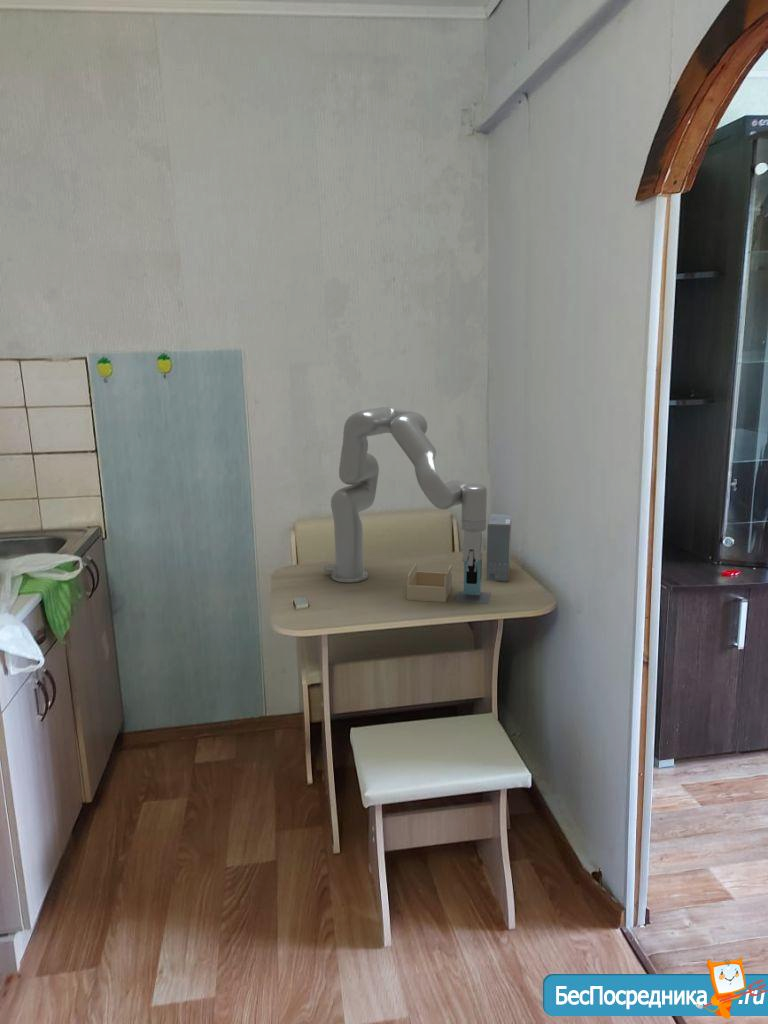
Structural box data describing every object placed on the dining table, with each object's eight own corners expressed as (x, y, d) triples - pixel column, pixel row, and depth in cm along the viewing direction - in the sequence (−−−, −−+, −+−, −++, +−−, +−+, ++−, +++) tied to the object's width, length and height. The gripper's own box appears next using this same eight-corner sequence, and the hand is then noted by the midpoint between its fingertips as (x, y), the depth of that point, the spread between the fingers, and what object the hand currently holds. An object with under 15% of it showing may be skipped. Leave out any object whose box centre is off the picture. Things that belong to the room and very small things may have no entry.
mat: (454, 603, 234) (455, 601, 234) (459, 592, 243) (459, 591, 243) (487, 605, 232) (487, 603, 232) (490, 594, 241) (490, 592, 241)
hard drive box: (508, 582, 253) (510, 524, 248) (485, 581, 254) (486, 524, 250) (510, 568, 268) (511, 514, 263) (488, 567, 269) (489, 513, 265)
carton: (406, 600, 237) (406, 576, 235) (415, 585, 251) (415, 562, 249) (445, 603, 234) (445, 578, 232) (452, 587, 248) (452, 564, 247)
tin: (463, 593, 235) (463, 556, 232) (465, 588, 240) (465, 551, 237) (479, 595, 234) (480, 557, 231) (481, 589, 239) (482, 552, 236)
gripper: (464, 517, 241) (463, 571, 245) (458, 530, 225) (457, 588, 229) (488, 518, 239) (487, 573, 244) (483, 531, 223) (482, 590, 227)
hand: (472, 579), depth 236 cm, fingers closed on tin, 5 cm apart
